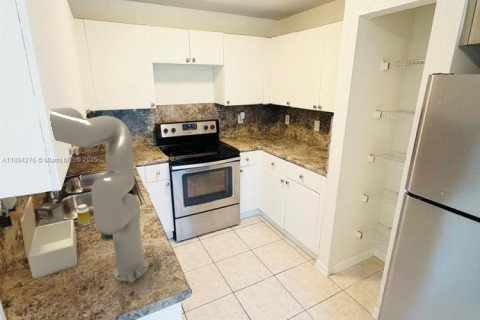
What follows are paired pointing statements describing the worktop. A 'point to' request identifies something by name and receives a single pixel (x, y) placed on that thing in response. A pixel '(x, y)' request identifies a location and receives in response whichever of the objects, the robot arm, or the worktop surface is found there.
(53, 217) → the coffee box
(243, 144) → the worktop surface
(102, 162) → the worktop surface
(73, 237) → the carton
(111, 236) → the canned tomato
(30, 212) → the lid flap
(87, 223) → the supplement bottle
